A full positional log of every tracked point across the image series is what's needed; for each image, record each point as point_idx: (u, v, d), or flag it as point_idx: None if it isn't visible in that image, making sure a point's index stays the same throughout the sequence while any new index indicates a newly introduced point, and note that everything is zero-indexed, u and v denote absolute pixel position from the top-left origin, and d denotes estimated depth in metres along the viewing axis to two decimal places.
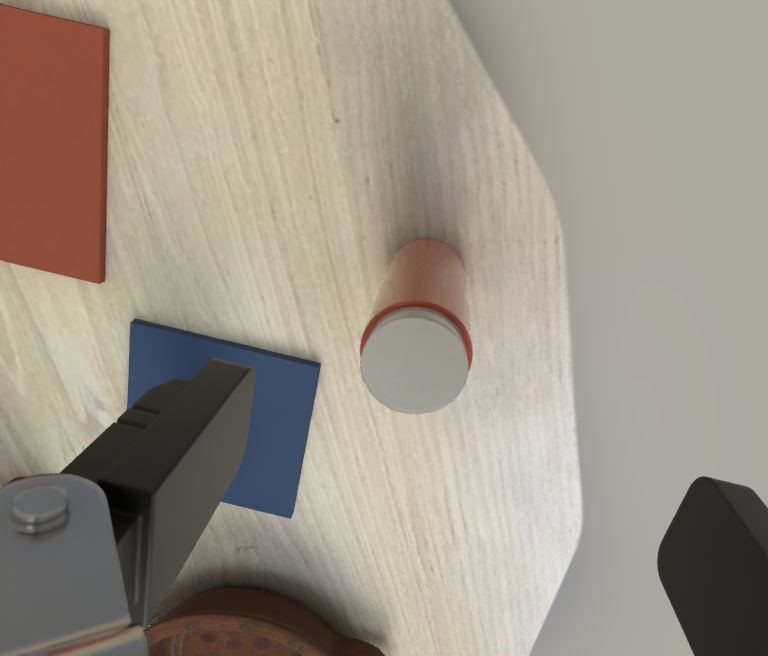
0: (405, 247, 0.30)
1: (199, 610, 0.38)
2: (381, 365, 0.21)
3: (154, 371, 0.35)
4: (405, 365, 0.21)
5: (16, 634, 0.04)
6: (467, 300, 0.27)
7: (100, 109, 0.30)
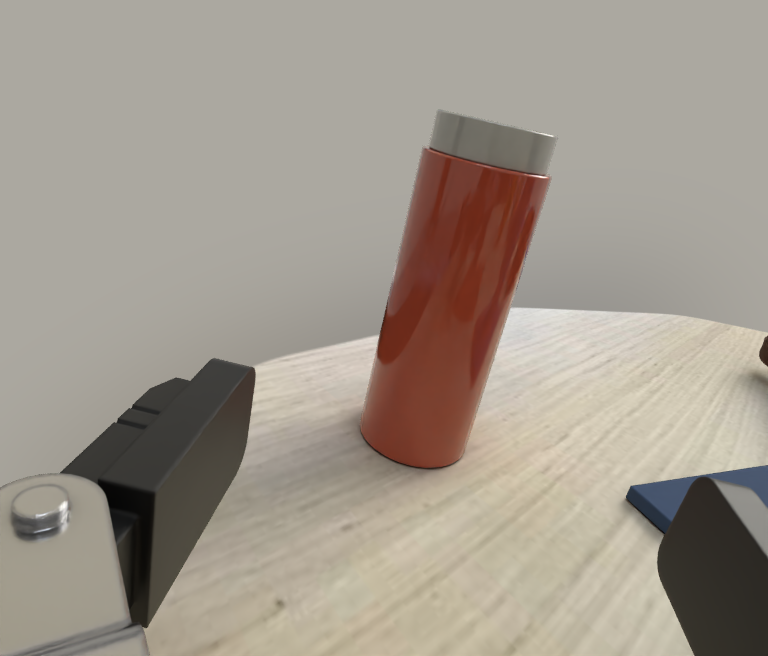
0: (398, 439, 0.20)
1: None
2: None
3: None
4: None
5: (16, 634, 0.04)
6: None
7: None
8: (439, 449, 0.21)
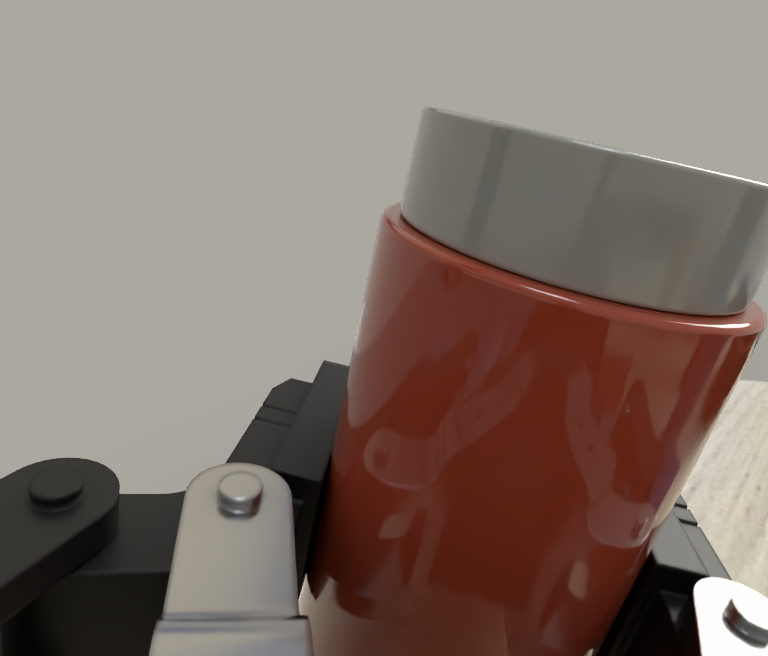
0: None
1: None
2: None
3: None
4: None
5: (209, 597, 0.05)
6: None
7: None
8: None
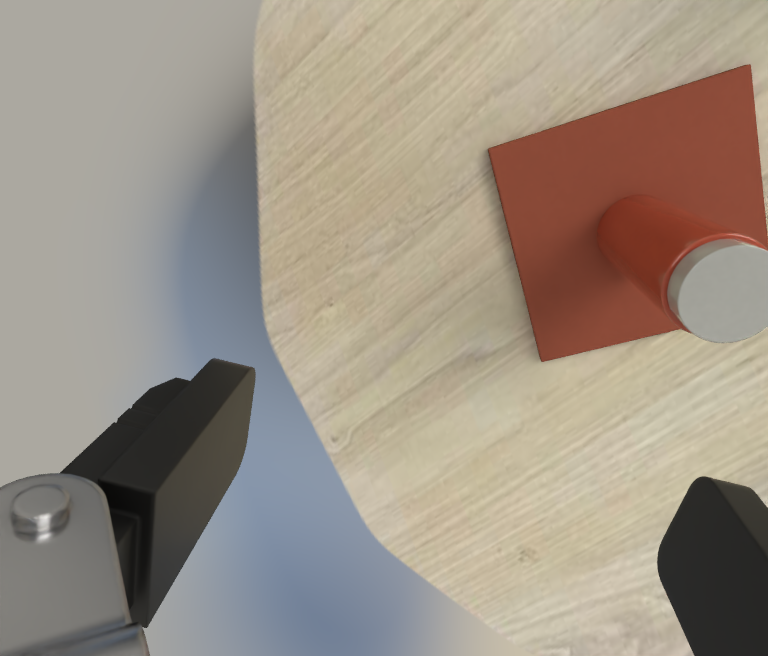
0: (603, 253, 0.33)
1: None
2: (725, 325, 0.22)
3: None
4: (728, 303, 0.22)
5: (16, 634, 0.04)
6: (667, 210, 0.27)
7: (558, 128, 0.31)
8: None
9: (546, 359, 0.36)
